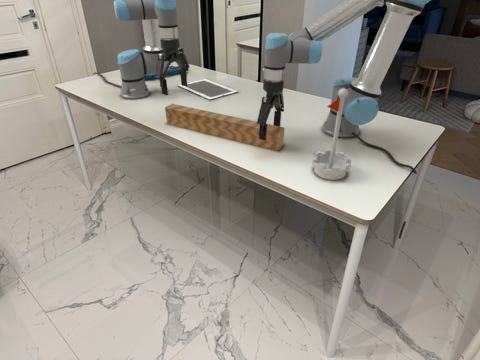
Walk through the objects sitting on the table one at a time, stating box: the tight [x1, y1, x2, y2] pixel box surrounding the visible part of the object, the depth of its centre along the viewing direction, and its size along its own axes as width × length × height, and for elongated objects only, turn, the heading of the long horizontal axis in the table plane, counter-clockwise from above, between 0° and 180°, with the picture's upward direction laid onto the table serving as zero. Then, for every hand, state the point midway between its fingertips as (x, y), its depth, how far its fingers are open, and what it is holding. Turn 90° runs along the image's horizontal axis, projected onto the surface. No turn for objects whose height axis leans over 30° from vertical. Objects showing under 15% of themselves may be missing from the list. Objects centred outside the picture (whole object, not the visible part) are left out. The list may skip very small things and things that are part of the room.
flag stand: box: [312, 88, 352, 181], centre depth 113 cm, size 13×13×30 cm
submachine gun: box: [143, 64, 182, 81], centre depth 225 cm, size 34×4×25 cm
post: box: [164, 103, 285, 152], centre depth 145 cm, size 56×6×8 cm, turn 61°
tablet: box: [177, 78, 239, 101], centre depth 198 cm, size 32×20×1 cm, turn 41°
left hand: (175, 90), depth 148 cm, fingers open, 13 cm apart
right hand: (269, 132), depth 135 cm, fingers open, 13 cm apart
